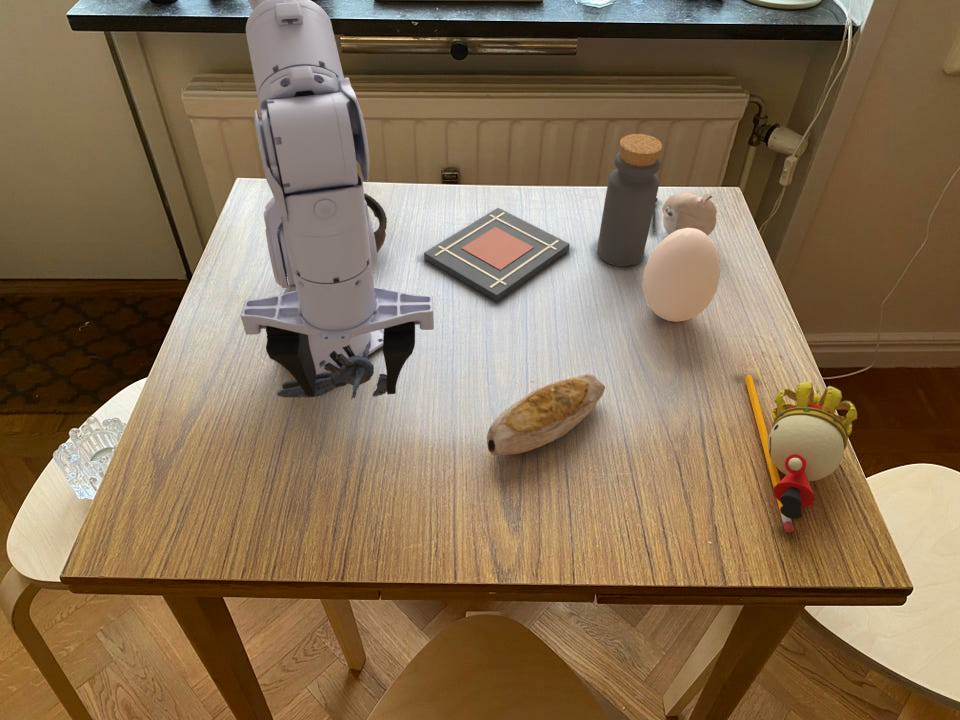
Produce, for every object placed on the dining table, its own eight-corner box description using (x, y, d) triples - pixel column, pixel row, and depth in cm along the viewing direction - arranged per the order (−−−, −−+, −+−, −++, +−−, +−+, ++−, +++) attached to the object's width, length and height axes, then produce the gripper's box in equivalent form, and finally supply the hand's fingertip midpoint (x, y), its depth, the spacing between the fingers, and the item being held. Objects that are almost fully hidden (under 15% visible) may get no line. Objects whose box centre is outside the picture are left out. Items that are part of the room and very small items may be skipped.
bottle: (652, 261, 88) (678, 151, 78) (610, 271, 87) (631, 160, 76) (628, 235, 92) (650, 127, 82) (588, 244, 91) (605, 135, 80)
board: (496, 302, 82) (497, 294, 81) (423, 259, 88) (423, 251, 87) (569, 250, 90) (570, 243, 89) (497, 213, 95) (498, 206, 94)
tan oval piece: (616, 412, 70) (623, 382, 67) (503, 480, 64) (505, 450, 61) (581, 381, 73) (586, 351, 70) (470, 443, 67) (470, 412, 64)
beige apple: (658, 246, 90) (671, 192, 85) (657, 219, 95) (670, 165, 89) (710, 252, 90) (727, 197, 84) (707, 224, 94) (723, 170, 88)
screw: (654, 202, 98) (648, 199, 98) (658, 197, 98) (652, 194, 97) (655, 236, 93) (648, 232, 93) (659, 230, 92) (653, 227, 92)
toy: (747, 523, 63) (778, 406, 72) (837, 544, 60) (857, 418, 69) (748, 472, 59) (780, 354, 68) (845, 491, 55) (865, 364, 64)
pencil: (783, 532, 61) (785, 527, 60) (743, 379, 74) (745, 374, 73) (792, 532, 61) (795, 528, 60) (751, 379, 74) (753, 375, 73)
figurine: (249, 395, 55) (273, 451, 57) (367, 365, 55) (387, 423, 56) (284, 340, 66) (302, 389, 68) (382, 315, 66) (398, 365, 68)
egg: (701, 345, 78) (730, 261, 70) (629, 328, 79) (649, 245, 71) (709, 301, 83) (736, 219, 75) (641, 286, 85) (660, 204, 77)
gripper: (218, 297, 48) (258, 425, 58) (432, 292, 49) (436, 419, 58) (237, 236, 53) (271, 364, 63) (430, 233, 54) (435, 359, 63)
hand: (351, 386), depth 61 cm, fingers closed on figurine, 6 cm apart
